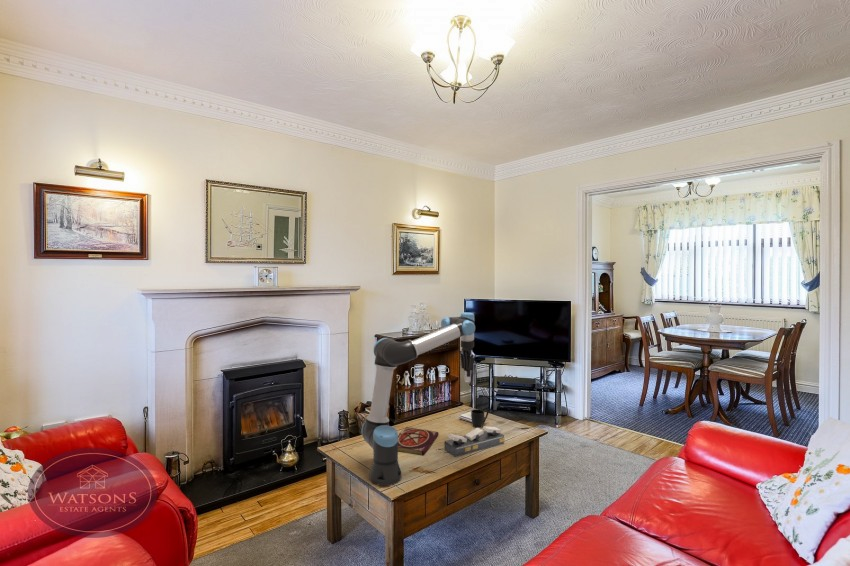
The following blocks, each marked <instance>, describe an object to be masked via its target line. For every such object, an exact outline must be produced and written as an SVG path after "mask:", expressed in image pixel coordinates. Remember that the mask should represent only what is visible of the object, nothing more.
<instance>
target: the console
mask: <svg viewBox="0 0 850 566" xmlns="http://www.w3.org/2000/svg"><path fill="white" fill-rule="evenodd" d="M483 432H484V433H483V434H482V435H480V437H479V439H473V440H472V441H471V440H469V439H468V438H466V436H465V435H464V436H462V437H464V438H466V439H467V441H466V442H462V443H461V444H458V443H457V442H455V441H454V440H452V439H451V438H450V439H448V440H444V449H443V450H444V451H445V452H446V453H448V454H450V455H451V456H452V457H454V458H456V457H460V456H464V455H468V454H472V453H475V452H478V451H482V450H487V449H490V448H494V447H497V446H501V445H504V444H505V435H504V434H502V433H501V432H500V433H496V434H495V435H493V434H491V433H489V432H487V431H485V430H483Z"/></svg>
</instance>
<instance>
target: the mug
mask: <svg viewBox="0 0 850 566" xmlns="http://www.w3.org/2000/svg"><path fill="white" fill-rule="evenodd" d="M470 412H471V413H470V417H471V418H470V419H471V422H472V423H471V424H472V427H473V428H474V429H476V428H480V429H481V428H482V427H483V425H484V424H485V422H486V420H487V418H488V416H489V410H483V409H477V408H476V409H471V411H470ZM485 413H486V414H485Z"/></svg>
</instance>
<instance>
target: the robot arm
mask: <svg viewBox="0 0 850 566" xmlns="http://www.w3.org/2000/svg"><path fill="white" fill-rule="evenodd" d="M475 321H476V319H475V314H474V312H464V311H463V312H461V313H460V316H451V317H449V316H448V317H443V318H442V319H441V321H440V326H441V328H439V329H437V330H435V331H432V332H430V333H427V334H425V335H423V336H420V337H419V338H415V339H413V340H411V339H408V340H405V341H396V340H394V339H393V338H390V337H383V338H380V339H378V340H377V341H376V342H375V344H374V346H373V354H374V356H375V357H374V365H375V367H376V370H375V371H376V373H375V378H374V385H373V393H372V398H371V405H370V411H369V412H370V413H369V414H368V415H367V416H366V418H365V421H364V422H363V424H362V426H361V432H360V433H361V435H362V438H363V440H364V441H365V443H367V444H368V445H369V446H370V447H371V448H372V450H373V456H372V457H373V462H372V465H371V469H370V472H369V481H370V482H371V481H372V482H371V483H373V484H374V483H375V485H377V484H379V485H378V486H391V485H390V484H392V485H394V483H395V484H397V483H399V482H400V481H401V480H402V470H401V467H400V464H399V459H398V458H399V457H398V456H399V452H398V435H399V433H398V430H397V429H396V427H394V426H391V425H390V423H389V422H390V419H389V417H388V410H389V404H390V397H391V389H392V384H393V375H394V370H395V369H397V368H398V366H399V365H403V364H406V363H408V362H410V361H413V360H415V359H417V358H418V356H419V355H422V354H424V353H426V352H428V351H431V350H433V349H436V348H437V347H440V346H442V345H445V344H447V343H449V342H452V341H454V340H456V339H459V338H460V347H461V349H460V350H459V351H458V353H459V357H460V364H461V368H462V370H463V374H464V378H463V379H464V383H471V381H470V380H471V371H473V370H474V365H475V359H476V356H477V354H476V353H474V350H473V349H474V347H475V331H476V325H475ZM400 479H401V480H400ZM398 481H399V482H398ZM396 482H397V483H396Z"/></svg>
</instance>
